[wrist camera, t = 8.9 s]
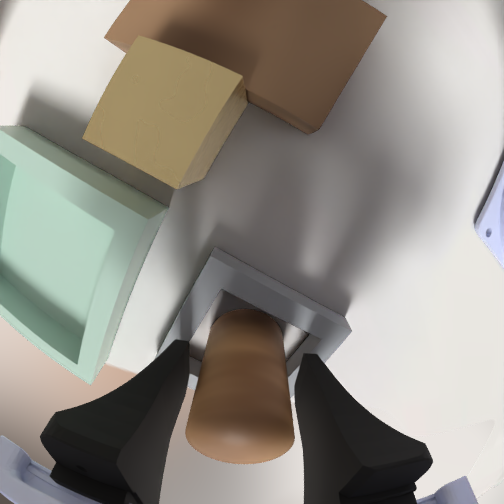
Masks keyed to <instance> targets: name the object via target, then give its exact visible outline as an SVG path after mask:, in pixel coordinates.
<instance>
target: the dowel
mask: <svg viewBox="0 0 504 504" xmlns="http://www.w3.org/2000/svg"><path fill="white" fill-rule="evenodd" d="M185 434H186V438H187V440H188V442H189V444H190V445H191V446H192V447H193V448H194V449H195V450H197V451H198V452H200V453H201V454H203V455H205V456H207V457H210V458H212V459H215V460H218V461H222V462H227V463H233V464H255V463H262V462H266V461H270V460H273V459H275V458H278V457H280V456H281V455H283V454H285V453H286V452H287V451H288V450H289V449H290V448H291V447H292V445H293V443H294V439H295V436H294V427H293V418H292V409H291V400H290V392H289V383H288V375H287V367H286V359H285V351H284V343H283V336H282V331H281V329H280V327H279V325H278V324H277V322H276V321H275V320H274V319H273V318H271V317H270V316H268V315H267V314H265V313H263V312H260V311H257V310H252V309H238V310H233V311H230V312H227V313H225V314H223V315H222V316H220V317H219V318H218V319H217V320H216V321H215V322H214V324H213V325H212V327H211V330H210V333H209V337H208V341H207V345H206V349H205V353H204V357H203V361H202V365H201V369H200V373H199V377H198V381H197V385H196V389H195V393H194V397H193V401H192V406H191V409H190V413H189V418H188V422H187V426H186V432H185Z"/></svg>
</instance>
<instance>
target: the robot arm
mask: <svg viewBox="0 0 504 504" xmlns="http://www.w3.org/2000/svg"><path fill="white" fill-rule="evenodd" d="M475 231H476V233H477V235H478V236H479V237H480V238H481V239H482V241H483V242H484V243H485V244H486V246H487V247H488V248H489V250H490V251H491V252H492V253H493V255H494V256H495V257H496V259H497V260H498V261H499V263H500V264H501V266H502V267H503V268H504V161H503V164H502V166H501V169H500V171H499V174H498V176H497V179H496V181H495V183H494V186H493V188H492V190H491V192H490V195H489V197H488V199H487V201H486V203H485V205H484V207H483V209H482V211H481V213H480V215H479V217H478V219H477V221H476V224H475ZM486 231H487V233H486ZM189 376H190V364H189V341H184V340H178V339H175V340H174V341H173V342H172V343H171V344H170V345H169V346H168V347H167V348H166V349H165V350H164V351H163V352H162V353H161V354H160V355H159V356H158V357H157V358H156V359H155V360H154V361H153V362H151V363H150V364H149V365H148V366H147V367H146V368H145V369H143V370H142V371H141V372H140V373H138V374H137V375H136V376H135V377H133V378H132V379H131V380H129V381H128V382H127V383H125V384H123V385H122V386H120V387H119V388H117V389H115V390H114V391H112V392H110V393H108V394H106V395H104V396H102V397H100V398H98V399H96V400H93V401H91V402H89V403H86V404H83V405H80V406H77V407H74V408H71V409H67V410H62V411H58V412H56V413H55V414H54V415H53V416H52V418H51V419H50V421H49V423H48V424H47V426H46V427H45V429H44V431H43V432H42V434H41V436H40V438H41V442H42V444H43V445H44V447H45V448H46V450H47V451H48V452H49V454H50V455H51V456H52V458H53V459H54V460H55V461H56V464H55V466H54V468H53V470H52V471H51V470H49V469H47V468H45V467H44V466H42V465H40V464H38V463H37V462H35V461H33V460H32V459H31V458H30V456H29V455H28V454H27V453H26V452H25V451H24V450H23V449H22V448H21V447H19V446H18V445H16V444H15V443H13V442H12V441H10V440H9V439H7V438H6V437H5V436H3V435H2V436H0V493H2V494H3V495H4V496H5V497H7V498H8V499H9V500H10V501H12V502H13V503H15V504H159V499H160V491H161V485H162V479H163V472H164V467H165V462H166V456H167V452H168V447H169V442H170V438H171V435H172V431H173V429H174V426H175V423H176V420H177V417H178V414H179V411H180V409H181V405H182V403H183V400H184V397H185V394H186V390H187V386H188V381H189ZM294 393H295V407H296V413H297V419H298V424H299V430H300V435H301V440H302V447H303V459H304V504H478V502H477V500H476V497H475V495H474V493H473V490H472V488H471V486H470V484H469V481H468V479H467V477H466V476H464V477H461V478H459V479H457V480H455V481H452V482H450V483H448V484H446V485H444V486H443V487H441V488H440V489H439V490H437V491H436V493H435V494H432V495H429V496H427V497H424V498H421V499H418V500H416V498H415V495H414V493H413V492H414V491H415V490H416V485H415V482H416V481H417V480H418V479H419V478H420V477H421V476H422V475H424V474H425V473H426V472H427V471H428V469H429V468H430V467H431V465H432V463H433V459H432V457H431V455H430V453H429V450H428V448H427V446H426V445H425V443H423V442H420V441H418V440H415V439H413V438H411V437H408V436H406V435H404V434H402V433H400V432H399V431H397V430H395V429H393V428H392V427H390V426H388V425H387V424H385V423H384V422H382V421H381V420H379V419H378V418H376V417H375V416H374V415H372V414H371V413H370V412H369V411H368V410H366V409H365V408H364V407H363V406H362V405H361V404H359V403H358V402H357V401H356V400H355V399H354V398H353V397H352V396H351V395H350V394H349V393H348V392H347V391H346V389H345V388H344V387H343V386H342V385H341V384H340V383H339V381H338V380H337V379H336V378H335V377H334V375H333V374H332V373H331V371H330V370H329V369H328V368H327V366H326V365H325V364H324V362H323V361H322V360H321V358H320V357H319V356H318V354H311V353H303V357H302V361H301V364H300V368H299V371H298V374H297V378H296V381H295V385H294Z"/></svg>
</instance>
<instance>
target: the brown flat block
mask: <svg viewBox="0 0 504 504" xmlns="http://www.w3.org/2000/svg"><path fill="white" fill-rule="evenodd" d="M386 17H387V16H386V15H384V14H383V13H381V12H380V11H378V10H377V9H375V8H374V7H372V6H371V5H369V4H367V3H366V2H364V1H362V0H130V1H129V3H128V4H127V5H126V7H125V8H124V9H123V11H122V12H121V13H120V15H119V16H118V18H117V19H116V20H115V22H114V23H113V25H112V26H111V28H110V29H109V31H108V32H107V34H106V35H105V37H104V38H105V39H107V40H108V41H109V42H111V43H112V44H114V45H115V46H117V47H118V48H120V49H121V50H122V51H124V52H125V53H127V52H128V50H129V49H130V47H131V46H132V44H133V43H134V41H135V40H136V38H137V37H138V35H139V36H142V37H146V38H149V39H152V40H155V41H158V42H161V43H164V44H167V45H170V46H173V47H176V48H178V49H181V50H184V51H186V52H189V53H192V54H194V55H197V56H199V57H201V58H204V59H206V60H209V61H211V62H213V63H216V64H218V65H220V66H222V67H225V68H227V69H229V70H231V71H233V72H235V73H238V74H240V75H242V76H243V79H244V85H245V90H246V96H247V101H248V102H250V103H252V104H254V105H256V106H258V107H260V108H261V109H263V110H265V111H267V112H269V113H271V114H273V115H274V116H276V117H278V118H280V119H282V120H284V121H285V122H287V123H289V124H291V125H292V126H294V127H296V128H297V129H299V130H301V131H302V132H304V133H306V134H307V135H309V134H311V133H313V132H315V131H317V130H319V129H320V127H321V125H322V124H323V122H324V120H325V119H326V117H327V115H328V114H329V112H330V110H331V109H332V107H333V105H334V104H335V102H336V100H337V99H338V97H339V95H340V94H341V92H342V90H343V89H344V87H345V85H346V84H347V82H348V80H349V79H350V77H351V75H352V74H353V72H354V70H355V69H356V67H357V65H358V64H359V62H360V60H361V59H362V57H363V55H364V54H365V52H366V50H367V49H368V47H369V45H370V44H371V42H372V40H373V39H374V37H375V35H376V34H377V32H378V30H379V29H380V27H381V25H382V24H383V22H384V20H385V19H386Z"/></svg>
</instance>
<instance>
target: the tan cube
mask: <svg viewBox="0 0 504 504" xmlns="http://www.w3.org/2000/svg"><path fill="white" fill-rule="evenodd" d="M247 105H248V102H247V96H246V90H245V85H244V79H243V76H242V75H240V74H238V73H235V72H233V71H231V70H229V69H227V68H225V67H222V66H220V65H218V64H216V63H213V62H211V61H209V60H206V59H204V58H201V57H199V56H197V55H194V54H192V53H189V52H186V51H184V50H181V49H178V48H176V47H173V46H170V45H167V44H164V43H161V42H158V41H155V40H152V39H149V38H146V37H142V36H139V35H138V37H137V38H136V40H135V41H134V43H133V44H132V46H131V47H130V49H129V50H128V52H127V53H126V55H125V57H124V58H123V60H122V61H121V63H120V65H119V66H118V68H117V70H116V71H115V73H114V75H113V77H112V78H111V80H110V82H109V84H108V86H107V87H106V89H105V91H104V93H103V95H102V97H101V99H100V101H99V103H98V105H97V107H96V109H95V111H94V113H93V115H92V117H91V119H90V121H89V124H88V126H87V128H86V130H85V133H84V135H83V137H82V139H84V140H86V141H88V142H90V143H91V144H93V145H95V146H97V147H99V148H101V149H103V150H105V151H107V152H108V153H110V154H112V155H114V156H116V157H118V158H120V159H122V160H123V161H125V162H127V163H129V164H131V165H133V166H135V167H136V168H138V169H140V170H142V171H144V172H146V173H147V174H149V175H151V176H153V177H155V178H157V179H158V180H160V181H162V182H164V183H166V184H168V185H169V186H171V187H173V188H175V189H179V188H182V187H184V186H187V185H189V184H192V183H195V182H197V181H200V180H203V179H204V178H205V176H206V174H207V172H208V171H209V169H210V167H211V165H212V164H213V162H214V160H215V158H216V157H217V155H218V153H219V151H220V150H221V148H222V146H223V145H224V143H225V141H226V139H227V138H228V136H229V134H230V133H231V131H232V129H233V128H234V126H235V124H236V123H237V121H238V120H239V118H240V116H241V115H242V113H243V112H244V110H245V108H246V107H247Z"/></svg>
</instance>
